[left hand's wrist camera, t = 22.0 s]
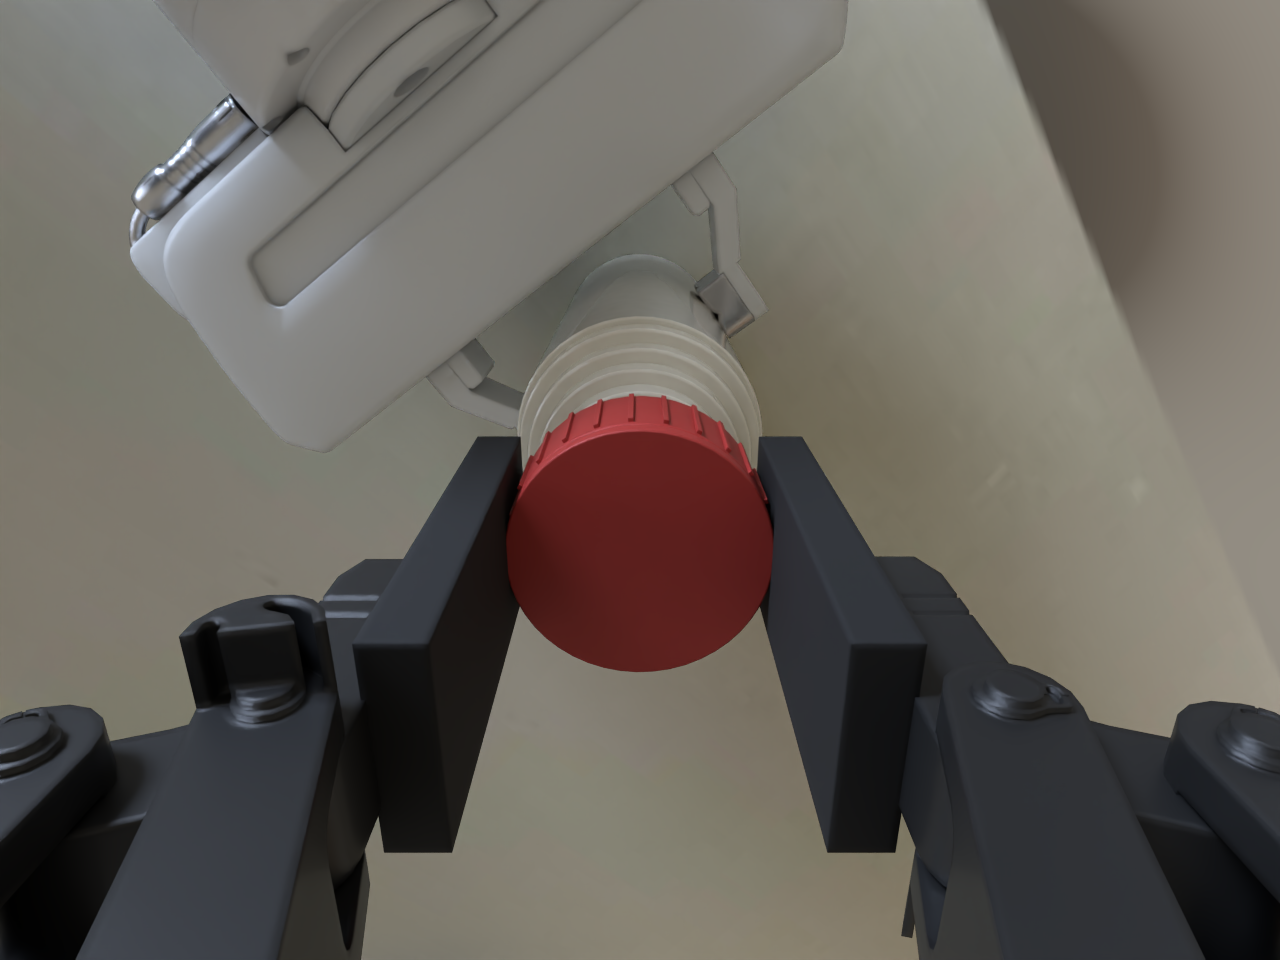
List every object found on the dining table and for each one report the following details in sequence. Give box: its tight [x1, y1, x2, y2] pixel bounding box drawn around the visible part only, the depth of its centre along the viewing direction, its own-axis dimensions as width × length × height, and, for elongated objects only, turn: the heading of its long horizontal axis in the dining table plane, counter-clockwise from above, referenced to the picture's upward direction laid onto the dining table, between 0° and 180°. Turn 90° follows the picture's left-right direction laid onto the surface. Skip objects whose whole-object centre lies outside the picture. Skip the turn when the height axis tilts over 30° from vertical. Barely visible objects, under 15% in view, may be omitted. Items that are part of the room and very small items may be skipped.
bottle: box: [517, 254, 762, 472], centre depth 22 cm, size 6×6×19 cm
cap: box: [506, 393, 774, 672], centre depth 13 cm, size 4×4×2 cm
